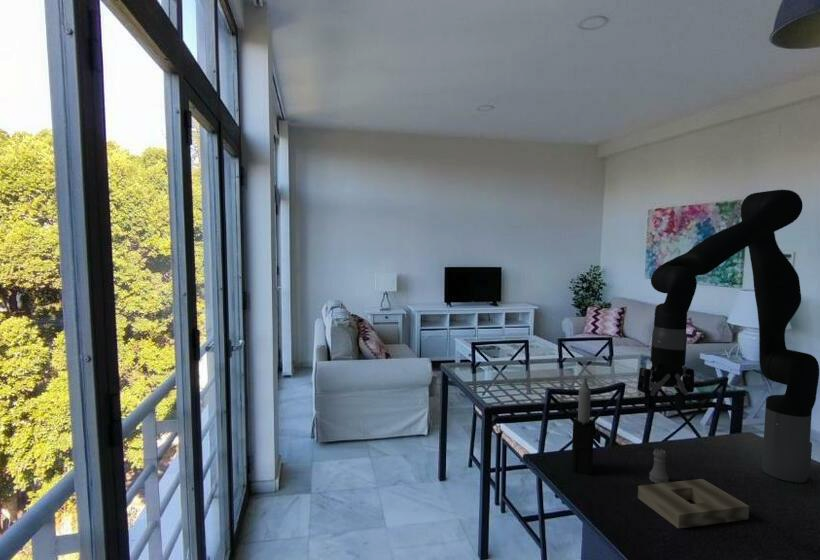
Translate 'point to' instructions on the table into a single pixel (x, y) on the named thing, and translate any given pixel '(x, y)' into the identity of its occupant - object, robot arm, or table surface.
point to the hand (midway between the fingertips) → (664, 409)
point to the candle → (583, 434)
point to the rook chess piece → (659, 467)
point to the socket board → (682, 514)
